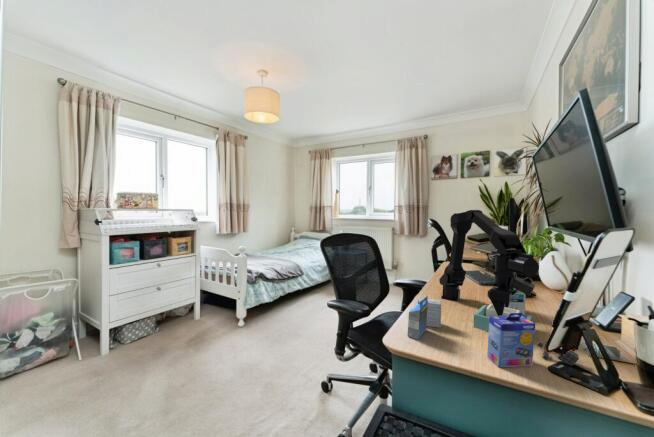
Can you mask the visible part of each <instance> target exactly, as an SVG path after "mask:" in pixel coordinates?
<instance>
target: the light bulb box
mask: <svg viewBox="0 0 654 437" xmlns="http://www.w3.org/2000/svg"><path fill="white" fill-rule="evenodd" d="M514 290H516V289H515V288H514ZM526 296H527V295H525V294H524V293H523V292H520V291H517V292H516V293H515V294H513V295H512V297H511V300H510V303H509V306H508V308H511V309H515V310H520V313H523V314H526Z"/></svg>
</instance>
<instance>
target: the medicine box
mask: <svg viewBox="0 0 654 437" xmlns="http://www.w3.org/2000/svg"><path fill="white" fill-rule="evenodd" d="M424 298H425V297H423V298H422V297H418V298H417V304H419V302H420V301H422V300H423V299H424ZM423 303H425V302H423ZM426 327H433V328H441V327H442V301H441V299H440V300H439V299H432V298H431V299H430V298H428V305H427V322H426Z"/></svg>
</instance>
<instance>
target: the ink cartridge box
mask: <svg viewBox="0 0 654 437" xmlns="http://www.w3.org/2000/svg"><path fill="white" fill-rule="evenodd" d="M522 314H523V313H510V314H509V315H508V316H503V315H501V316H489V332H488V340H487V358H488V359H490V360H491V362H493V363H494V364H495V365H496V366H497V367H498V368H517V367H518V368H519V367H522V368H525V367H528V368H529V367H532V366H533V360H534V359H533V357H534V346H535V345H534V344H535V335H536V323H535V322H533V321H530V320H529V319H527V318H525V317H523V316H522Z"/></svg>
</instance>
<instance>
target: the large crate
mask: <svg viewBox="0 0 654 437" xmlns="http://www.w3.org/2000/svg"><path fill="white" fill-rule="evenodd" d="M488 306H489V305H486V304H483V305H482V306H481V307H480V308H479V309H478V310H477V311H476V312H475V313H474V314H473V328H475V329H477V330H478V329H479V330H481V331H485V332H488V333H489V317H486V308H487V307H488ZM522 316H523V317H525V318H527V319H529V320H530V321H532V320H533V319H532V318H533V316H532V315H529V314H526V313H525V314H522ZM532 322H533V321H532Z"/></svg>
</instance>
